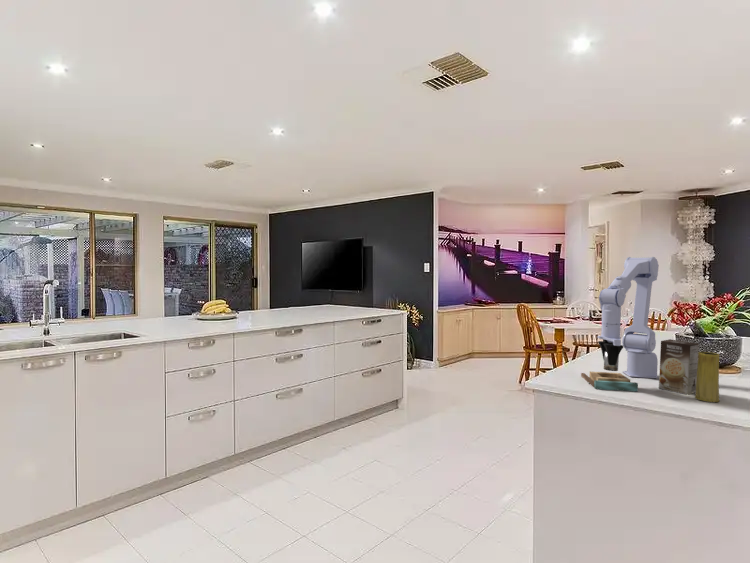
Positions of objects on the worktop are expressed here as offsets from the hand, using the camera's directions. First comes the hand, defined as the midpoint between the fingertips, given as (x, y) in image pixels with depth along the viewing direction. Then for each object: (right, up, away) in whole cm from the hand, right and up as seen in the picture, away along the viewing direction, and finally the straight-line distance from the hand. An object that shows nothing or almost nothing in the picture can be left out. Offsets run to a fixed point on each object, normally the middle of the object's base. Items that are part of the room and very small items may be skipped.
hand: (609, 363), depth 157 cm
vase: (+21, -8, -17) cm, 28 cm away
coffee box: (+19, -8, -6) cm, 22 cm away
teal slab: (0, -7, +2) cm, 7 cm away
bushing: (0, -2, 0) cm, 2 cm away
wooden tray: (0, -7, 0) cm, 7 cm away
